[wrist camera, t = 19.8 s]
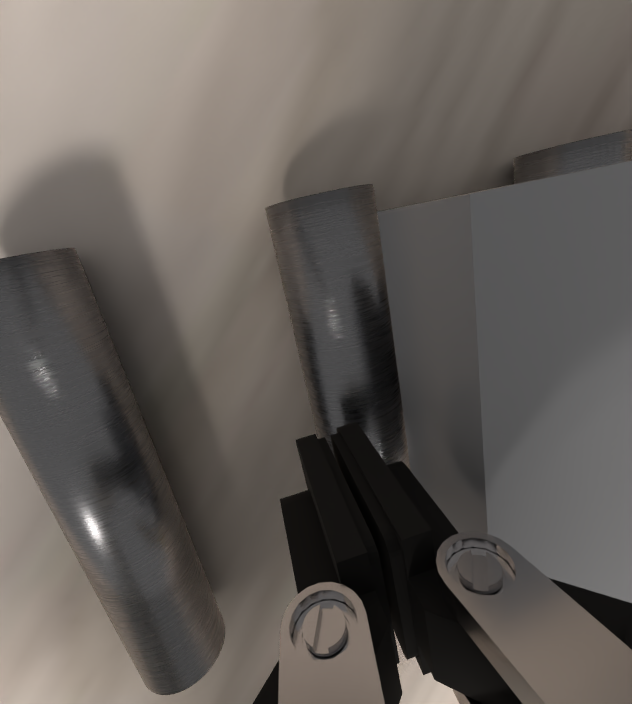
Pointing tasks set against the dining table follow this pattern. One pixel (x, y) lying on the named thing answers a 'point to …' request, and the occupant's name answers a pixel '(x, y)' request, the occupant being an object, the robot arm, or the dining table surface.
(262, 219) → the dining table surface
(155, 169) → the dining table surface
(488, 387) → the slab
